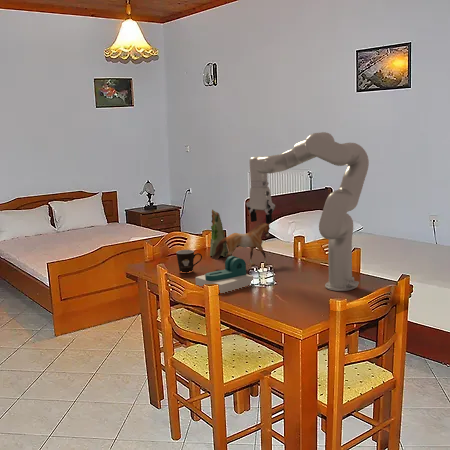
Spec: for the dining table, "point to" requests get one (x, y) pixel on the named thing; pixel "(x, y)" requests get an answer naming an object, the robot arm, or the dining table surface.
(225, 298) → the dining table surface
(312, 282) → the dining table surface
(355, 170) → the robot arm
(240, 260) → the bracket
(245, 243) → the horse figurine
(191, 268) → the coffee mug
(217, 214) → the mossy rock spire
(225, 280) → the block
